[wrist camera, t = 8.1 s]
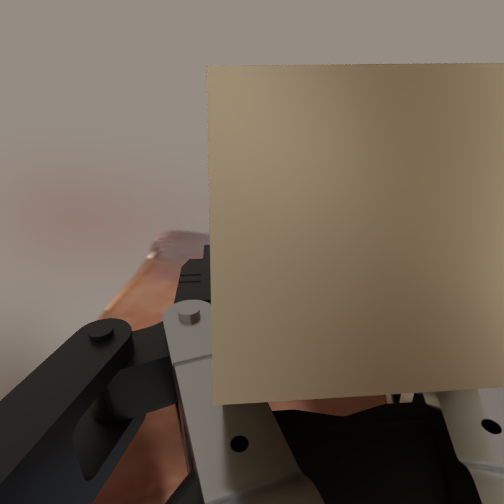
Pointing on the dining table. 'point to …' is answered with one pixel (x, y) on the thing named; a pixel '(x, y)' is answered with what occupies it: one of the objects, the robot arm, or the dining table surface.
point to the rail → (355, 229)
